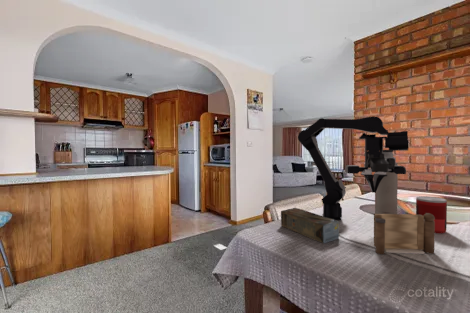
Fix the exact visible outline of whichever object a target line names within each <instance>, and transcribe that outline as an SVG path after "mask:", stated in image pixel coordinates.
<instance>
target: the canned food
mask: <svg viewBox="0 0 470 313" xmlns="http://www.w3.org/2000/svg"><path fill="white" fill-rule="evenodd" d="M447 209H448V201H447V199H445V198H441V197H436V196H427V195H426V196H424V195H423V196H419V195H418V196H416V200H415V215H422V216H423V215H424V214H426V213H430V214H432V215H433V216H434V217H435V220H434V222H435V234H440V235H441V234H446V232H447V225H448V224H447V223H448V222H447V221H448V220H447V218H448V217H447V216H448V215H447V214H448V213H447V211H448V210H447Z"/></svg>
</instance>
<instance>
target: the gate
mask: <svg viewBox="0 0 470 313" xmlns="http://www.w3.org/2000/svg"><path fill="white" fill-rule="evenodd" d="M375 218H383V219H385V248H395V249H418V250H422V251H423V244H424V216H422V215H416V214H409V213H407V214H406V213H405V214H403V213H402V214H400V213H397V214H375V213H373V246H374V247H375V248H376V221H375Z"/></svg>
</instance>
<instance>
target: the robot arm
mask: <svg viewBox="0 0 470 313" xmlns="http://www.w3.org/2000/svg"><path fill="white" fill-rule="evenodd" d="M325 129H333V130H334V129H336V130H337V129H338V130H339V129H341V130H356V131H361V132H363V133H362V134H361V135H360V136H359V140H364V155H363V156H364V166H360V165H356V164H354V165H353V164H350V165H349V164H347V165H345V167H344V172H345V173H347V174H354V175H355V174H357V175H358V174H359V173H360V175H362V176H363V177H364V178H365V180H366V182H367V184H368V186H369V189H370V191H371V193H374V194H375V193H376V191H377V188H378V186H379V183H380V182H381V180H382V179H383V178H384V177H385V176H388V175H386V172H390V173H395V174H398V175H406V174H407V169H406V167H405V166H404V165H399V164H398V165H395V159H394V158H387V159H385V158H384V154H383V150H384V147H385V149H388V150H389V151H393V152H394V151H395V152H396V151H402V152H405V151H409V145H410V143H409V137H408V136H409V134H408V131H407V130H402V131H391V132H389V131H388V130H389V129H386V128H385V127H384V122H383V120H382V119H381V118H380V117H379V116H367V117H366V116H365V117H361V118H353V119H347V118H346V119H345V118H342V119H341V118H318V119H317V120H316V121H315V122H314V123H312V124H311V125H309V126H308V127H307V128H306V129H303V130H300V131H299V133H298V135H297V139H298V141H299V143H300V144H301V146H302V147H304V149H306V151H307V152H308V153H309V155H310V157H311V158H312V161H313V162H314V165H315V166H316V168H317V170H318V172H319V174H320V176H321V178H322V179H323V182H324V187H325V192H326V195H324V196H323V197H322V198H321V202H322V214H321V216H324V217H327V218H330V219H333V220H336V221H342V218H343V208H342V206H341V203H340V202H341V200H343V198H344V197H345V196H346V193H347V192H346V189H347V187H346V186H345V185H344V182H343V180H342V179H339V180H338V179H337V178H336V177H335V175H334V174H333V172H332V170H331V169H330V167H329V165H328V162H327V161H326V159H325V157H324V156H323V154H322V152H321V150H320V148H319V144H318V140H317V137H319V135H320V134H321V133H322V132H323V131H324V130H325ZM365 132H366V133H369V134H366V133H365ZM377 134H379V135H381V136H377ZM375 172H376V173H375Z"/></svg>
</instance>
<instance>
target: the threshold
mask: <svg viewBox="0 0 470 313" xmlns="http://www.w3.org/2000/svg"><path fill="white" fill-rule="evenodd" d="M385 253H386V254H387V253H390V254H391V253H392V254H415V255H416V254H417V255H419V254H420V255H421V254H422V255H425V252H424V251H423V250H418V249H395V248H385Z"/></svg>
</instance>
